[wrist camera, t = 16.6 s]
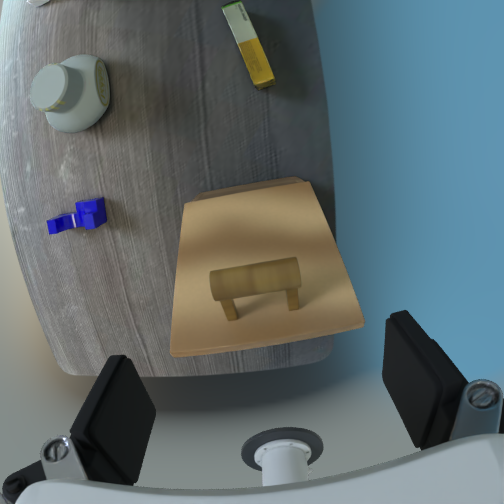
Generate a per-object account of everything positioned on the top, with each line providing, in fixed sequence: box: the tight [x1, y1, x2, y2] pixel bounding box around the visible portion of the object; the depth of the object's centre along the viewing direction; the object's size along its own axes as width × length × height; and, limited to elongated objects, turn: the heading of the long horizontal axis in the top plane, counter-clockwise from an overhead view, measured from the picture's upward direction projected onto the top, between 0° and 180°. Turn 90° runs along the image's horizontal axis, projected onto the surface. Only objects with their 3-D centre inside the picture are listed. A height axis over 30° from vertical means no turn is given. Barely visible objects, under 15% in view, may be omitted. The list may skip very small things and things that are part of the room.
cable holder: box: [47, 197, 107, 234], centre depth 38 cm, size 8×4×4 cm, turn 94°
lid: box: [170, 181, 365, 358], centre depth 23 cm, size 16×13×5 cm
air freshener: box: [30, 54, 110, 133], centre depth 30 cm, size 11×8×10 cm
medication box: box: [221, 0, 276, 91], centre depth 32 cm, size 12×3×4 cm, turn 20°
